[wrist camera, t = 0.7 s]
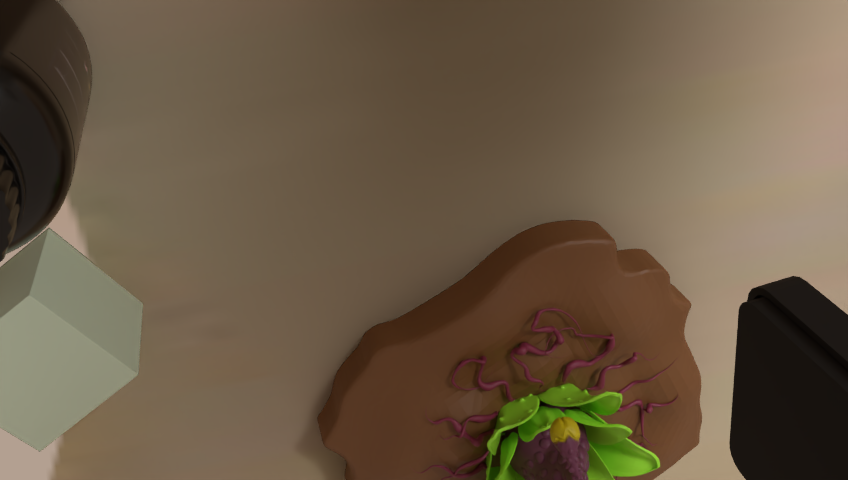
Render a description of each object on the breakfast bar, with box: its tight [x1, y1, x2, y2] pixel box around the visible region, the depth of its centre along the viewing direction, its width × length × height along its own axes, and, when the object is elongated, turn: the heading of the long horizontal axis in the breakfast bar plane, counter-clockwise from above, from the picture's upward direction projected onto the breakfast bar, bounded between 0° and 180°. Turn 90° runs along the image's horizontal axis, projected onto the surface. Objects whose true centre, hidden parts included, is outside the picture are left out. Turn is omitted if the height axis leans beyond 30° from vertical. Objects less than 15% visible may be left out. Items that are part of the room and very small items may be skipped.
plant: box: [318, 220, 702, 480], centre depth 39 cm, size 20×20×11 cm
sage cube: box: [0, 228, 143, 451], centre depth 31 cm, size 5×5×5 cm
